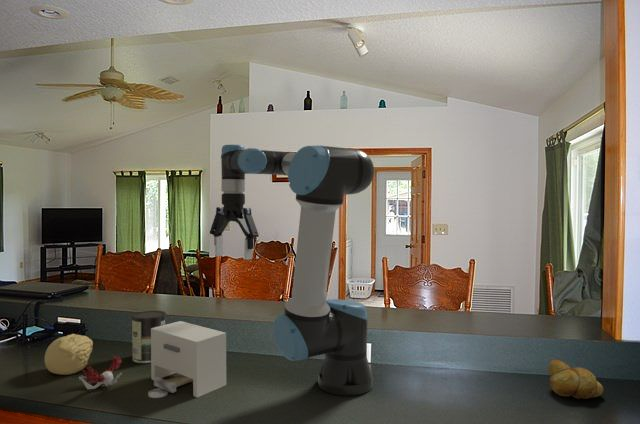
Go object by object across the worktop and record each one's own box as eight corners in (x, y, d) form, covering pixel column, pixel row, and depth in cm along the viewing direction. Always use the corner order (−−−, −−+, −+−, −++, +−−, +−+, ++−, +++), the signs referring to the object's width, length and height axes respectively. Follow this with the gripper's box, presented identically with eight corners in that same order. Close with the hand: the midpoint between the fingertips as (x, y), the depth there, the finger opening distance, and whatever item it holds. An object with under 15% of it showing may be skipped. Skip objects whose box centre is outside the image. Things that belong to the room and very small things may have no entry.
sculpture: (73, 380, 132) (73, 342, 132) (35, 377, 134) (35, 340, 134) (99, 365, 143) (98, 330, 143) (63, 363, 145) (63, 328, 145)
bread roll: (600, 391, 126) (601, 362, 125) (607, 406, 117) (608, 375, 116) (547, 384, 130) (547, 355, 130) (549, 398, 121) (550, 367, 121)
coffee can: (172, 353, 154) (172, 311, 154) (155, 364, 144) (154, 319, 144) (144, 351, 156) (143, 309, 156) (125, 362, 146) (124, 317, 146)
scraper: (225, 373, 137) (225, 339, 137) (172, 393, 122) (173, 354, 122) (206, 367, 141) (207, 334, 141) (154, 385, 127) (154, 348, 127)
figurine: (96, 374, 136) (96, 352, 136) (134, 376, 135) (134, 353, 135) (62, 396, 121) (62, 371, 121) (105, 399, 120) (105, 373, 120)
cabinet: (226, 385, 129) (226, 332, 128) (194, 398, 120) (194, 342, 120) (180, 368, 141) (180, 320, 140) (148, 380, 132) (148, 329, 131)
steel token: (167, 390, 126) (167, 386, 126) (168, 398, 121) (168, 394, 121) (148, 392, 124) (148, 389, 124) (147, 400, 120) (147, 397, 120)
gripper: (269, 192, 149) (269, 259, 149) (216, 192, 163) (216, 253, 164) (253, 192, 142) (253, 262, 143) (198, 192, 157) (199, 255, 158)
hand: (233, 257), depth 154 cm, fingers open, 13 cm apart
